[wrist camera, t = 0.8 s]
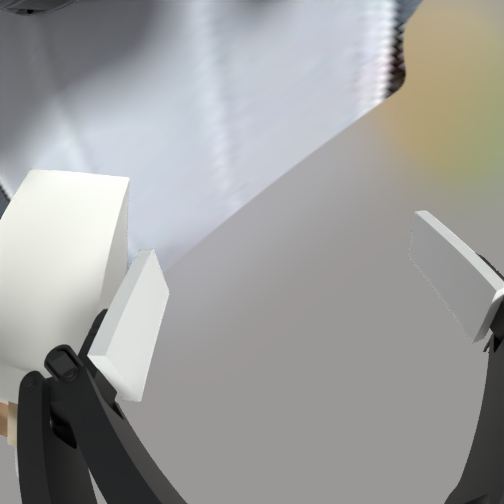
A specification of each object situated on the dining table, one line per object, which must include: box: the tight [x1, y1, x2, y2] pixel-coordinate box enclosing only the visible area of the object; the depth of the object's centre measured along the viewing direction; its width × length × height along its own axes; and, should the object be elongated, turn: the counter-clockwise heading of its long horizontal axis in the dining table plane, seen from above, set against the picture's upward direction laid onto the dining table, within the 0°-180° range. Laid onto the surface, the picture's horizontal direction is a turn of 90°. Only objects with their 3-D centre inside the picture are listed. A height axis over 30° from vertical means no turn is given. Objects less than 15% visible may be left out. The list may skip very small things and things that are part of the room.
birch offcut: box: [7, 401, 51, 447], centre depth 15 cm, size 6×5×4 cm
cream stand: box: [0, 169, 130, 405], centre depth 30 cm, size 18×22×30 cm
